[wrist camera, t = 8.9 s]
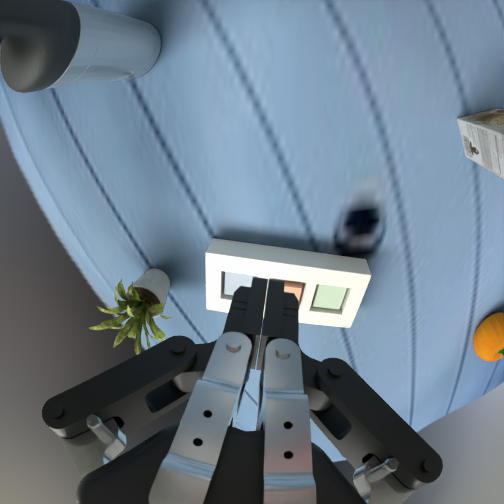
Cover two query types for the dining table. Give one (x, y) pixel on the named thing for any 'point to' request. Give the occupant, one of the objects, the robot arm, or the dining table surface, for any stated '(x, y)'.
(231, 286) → the key slate
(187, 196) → the dining table surface
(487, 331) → the fruit
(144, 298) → the house plant
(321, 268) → the keypad frame
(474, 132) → the coffee box
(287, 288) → the key terracotta
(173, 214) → the dining table surface
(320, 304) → the key sage
